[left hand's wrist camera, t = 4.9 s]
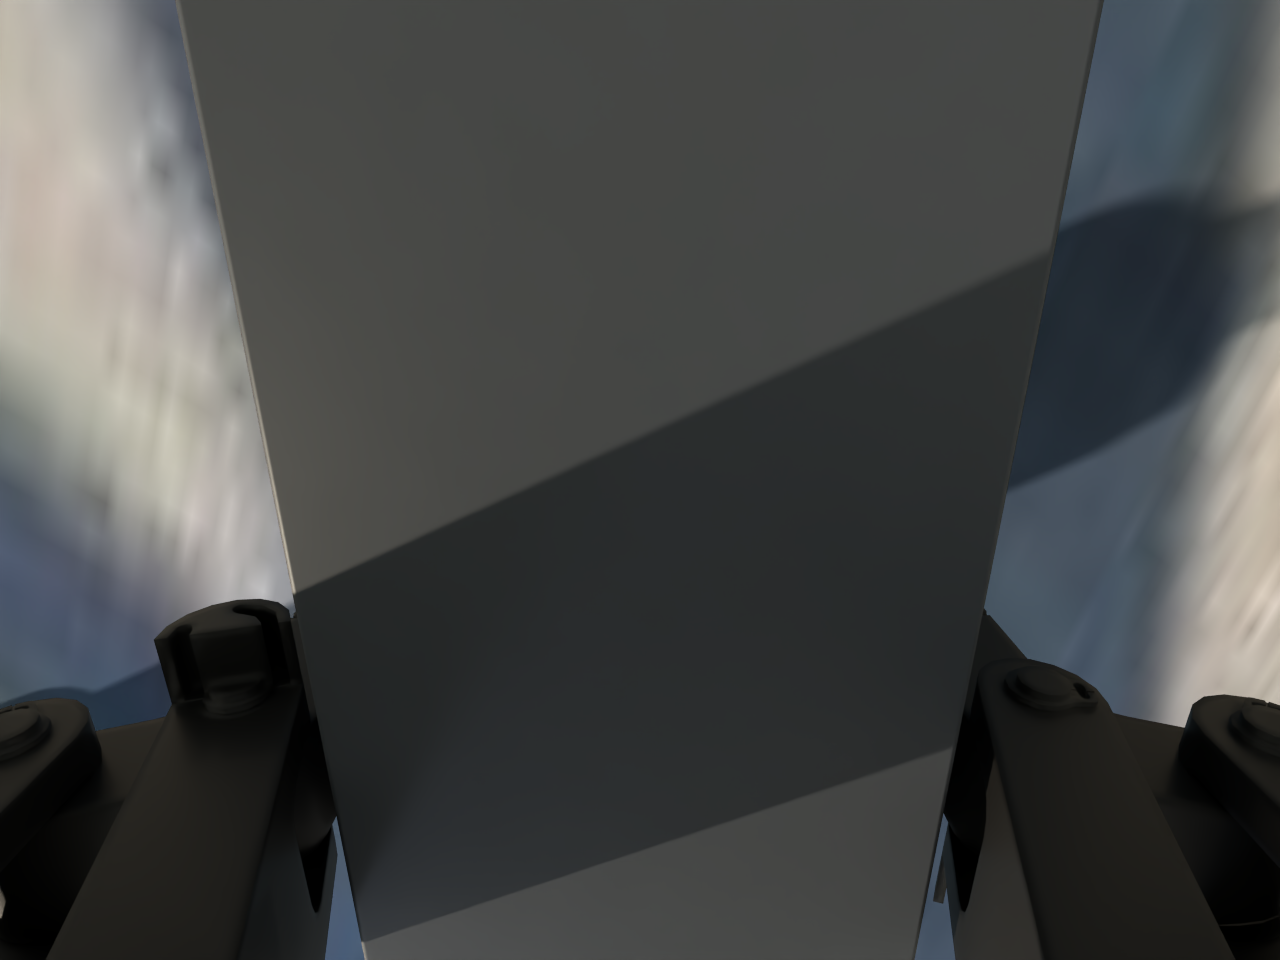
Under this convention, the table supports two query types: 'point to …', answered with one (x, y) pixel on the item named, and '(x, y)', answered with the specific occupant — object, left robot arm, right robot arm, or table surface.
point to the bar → (639, 438)
